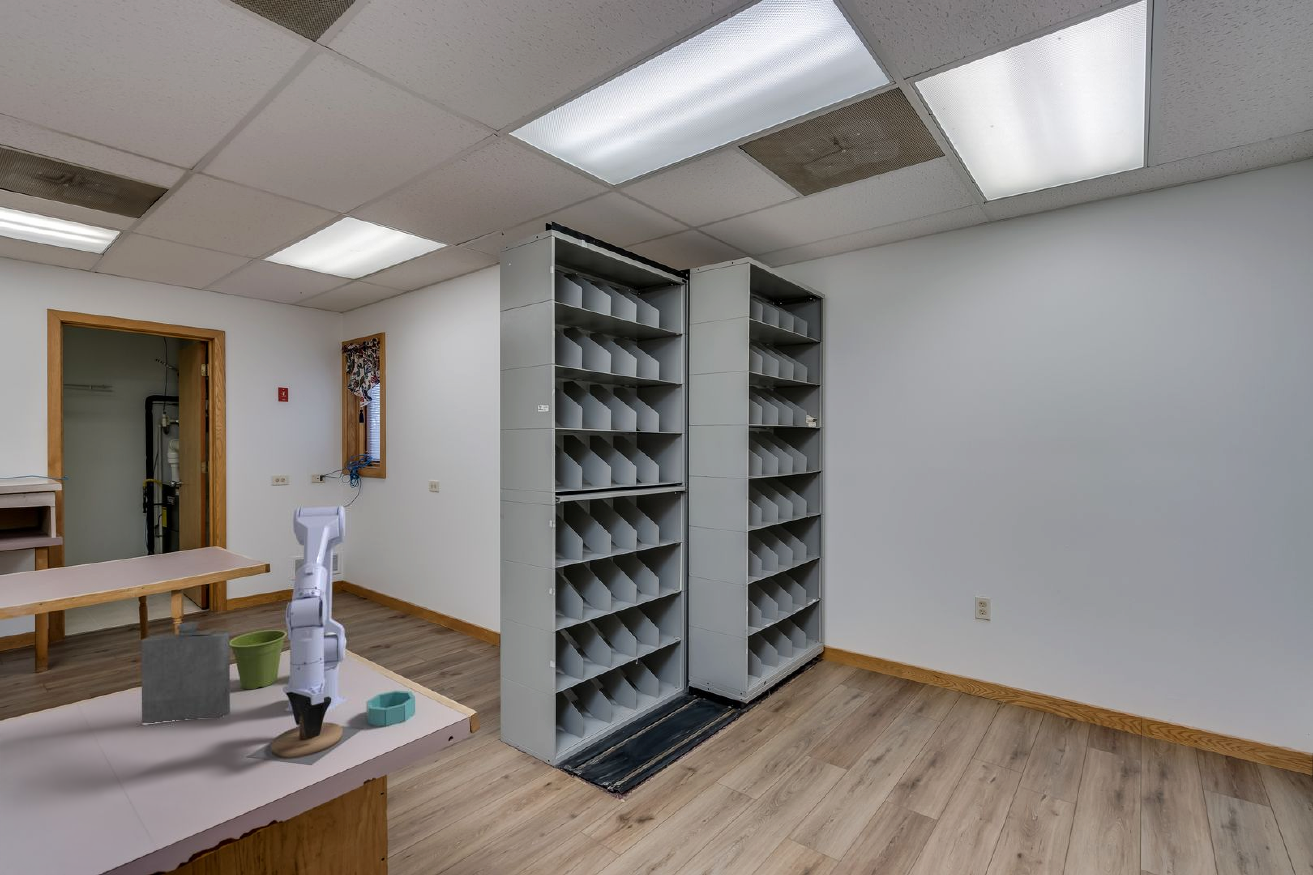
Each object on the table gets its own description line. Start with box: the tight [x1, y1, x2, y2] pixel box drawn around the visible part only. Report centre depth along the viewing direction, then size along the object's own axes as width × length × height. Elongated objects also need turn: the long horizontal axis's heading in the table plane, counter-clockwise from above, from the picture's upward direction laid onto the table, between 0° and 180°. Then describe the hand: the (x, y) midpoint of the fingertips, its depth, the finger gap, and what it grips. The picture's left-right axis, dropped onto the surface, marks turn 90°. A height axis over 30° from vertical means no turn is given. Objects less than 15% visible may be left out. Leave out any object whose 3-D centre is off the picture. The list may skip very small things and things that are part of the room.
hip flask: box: [140, 621, 231, 724], centre depth 130 cm, size 16×4×20 cm, turn 104°
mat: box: [246, 725, 364, 766], centre depth 118 cm, size 14×14×1 cm
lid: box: [271, 716, 342, 758], centre depth 118 cm, size 12×12×5 cm
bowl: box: [365, 690, 416, 727], centre depth 129 cm, size 9×9×4 cm
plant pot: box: [230, 629, 288, 690], centre depth 148 cm, size 12×12×11 cm
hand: (307, 729), depth 118 cm, fingers open, 7 cm apart
